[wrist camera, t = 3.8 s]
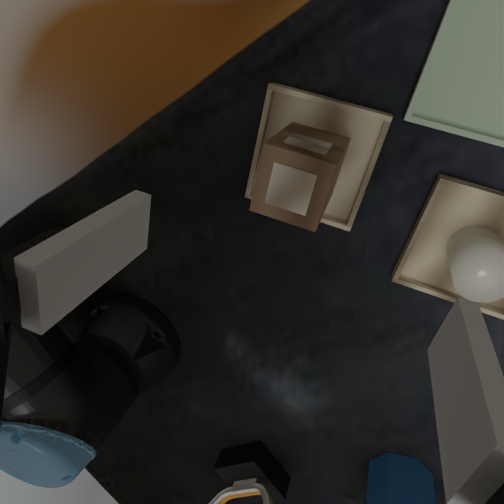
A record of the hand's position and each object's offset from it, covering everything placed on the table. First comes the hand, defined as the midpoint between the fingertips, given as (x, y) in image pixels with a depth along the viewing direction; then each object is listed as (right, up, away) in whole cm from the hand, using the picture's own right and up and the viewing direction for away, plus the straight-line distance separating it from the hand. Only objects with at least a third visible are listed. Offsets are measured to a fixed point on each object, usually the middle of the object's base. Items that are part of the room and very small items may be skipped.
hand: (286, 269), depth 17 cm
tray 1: (+5, +11, +25) cm, 27 cm away
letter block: (+5, +10, +24) cm, 27 cm away
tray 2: (+19, +16, +16) cm, 30 cm away
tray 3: (+21, +1, +24) cm, 32 cm away
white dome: (+21, +1, +23) cm, 31 cm away
